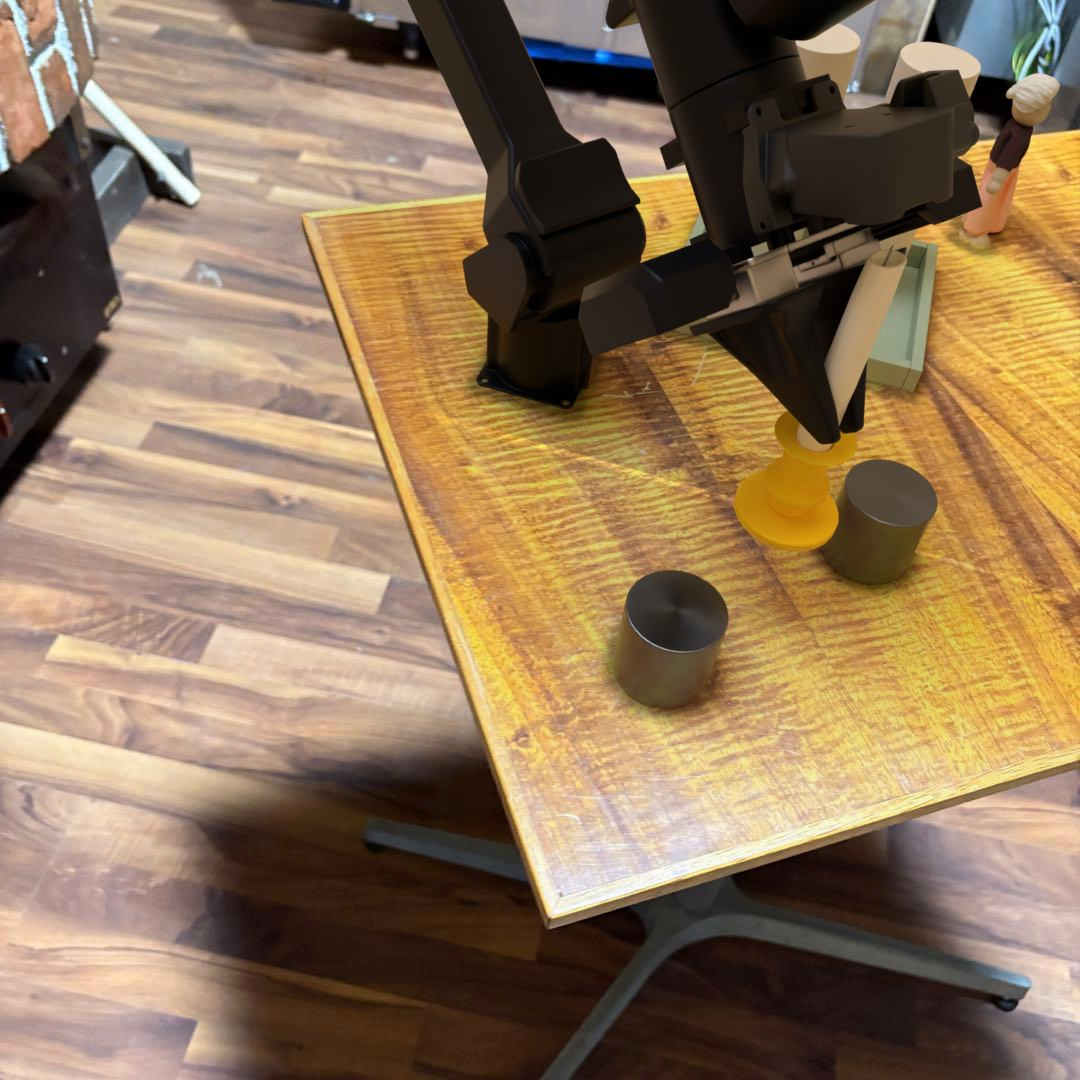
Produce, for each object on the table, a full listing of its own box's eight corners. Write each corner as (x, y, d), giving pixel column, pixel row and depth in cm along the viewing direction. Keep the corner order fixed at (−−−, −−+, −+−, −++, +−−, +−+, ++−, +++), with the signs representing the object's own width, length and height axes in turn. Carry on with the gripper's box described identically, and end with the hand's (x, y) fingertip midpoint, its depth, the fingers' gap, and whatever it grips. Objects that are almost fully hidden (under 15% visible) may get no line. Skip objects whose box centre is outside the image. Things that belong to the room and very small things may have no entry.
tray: (655, 331, 71) (660, 304, 69) (703, 216, 81) (709, 190, 79) (910, 397, 68) (922, 371, 66) (927, 270, 78) (939, 244, 76)
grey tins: (593, 654, 53) (604, 596, 49) (860, 506, 61) (888, 446, 57) (653, 727, 50) (670, 671, 47) (924, 562, 59) (957, 503, 55)
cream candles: (723, 261, 76) (776, 42, 64) (736, 226, 79) (789, 11, 67) (892, 303, 74) (979, 85, 62) (898, 265, 77) (982, 51, 65)
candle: (722, 532, 50) (817, 261, 39) (745, 463, 54) (838, 195, 42) (827, 566, 49) (955, 300, 38) (843, 494, 53) (965, 229, 41)
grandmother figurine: (1003, 262, 79) (1080, 103, 70) (953, 254, 80) (1023, 94, 70) (994, 210, 84) (1065, 55, 75) (947, 202, 85) (1011, 47, 75)
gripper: (669, 51, 32) (817, 515, 35) (1043, -43, 39) (1138, 343, 42) (516, 165, 42) (641, 518, 45) (838, 71, 49) (927, 378, 52)
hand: (841, 437), depth 46 cm, fingers closed on candle
